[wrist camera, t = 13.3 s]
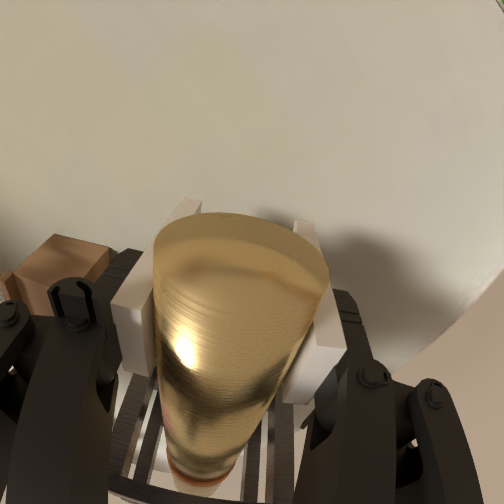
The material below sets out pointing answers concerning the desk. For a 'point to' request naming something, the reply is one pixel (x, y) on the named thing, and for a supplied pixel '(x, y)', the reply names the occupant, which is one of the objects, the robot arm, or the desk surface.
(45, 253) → the block
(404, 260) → the desk surface
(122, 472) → the collar stand
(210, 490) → the air tube
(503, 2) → the supplement bottle
